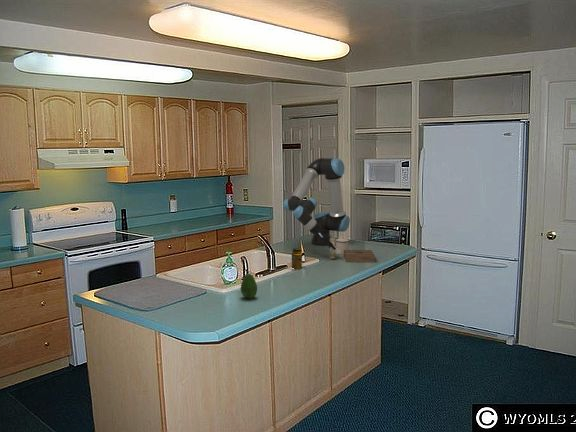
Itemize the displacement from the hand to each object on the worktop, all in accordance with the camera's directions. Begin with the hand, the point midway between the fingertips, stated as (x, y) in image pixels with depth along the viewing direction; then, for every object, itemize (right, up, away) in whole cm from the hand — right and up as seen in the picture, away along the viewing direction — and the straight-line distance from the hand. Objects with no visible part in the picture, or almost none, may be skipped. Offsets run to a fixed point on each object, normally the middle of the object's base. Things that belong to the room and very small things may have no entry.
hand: (338, 251), depth 331 cm
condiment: (-28, -9, -24) cm, 38 cm away
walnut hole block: (+13, -5, +1) cm, 14 cm away
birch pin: (-4, -4, +1) cm, 6 cm away
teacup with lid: (+3, -2, +20) cm, 20 cm away
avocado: (-51, -17, -81) cm, 97 cm away
